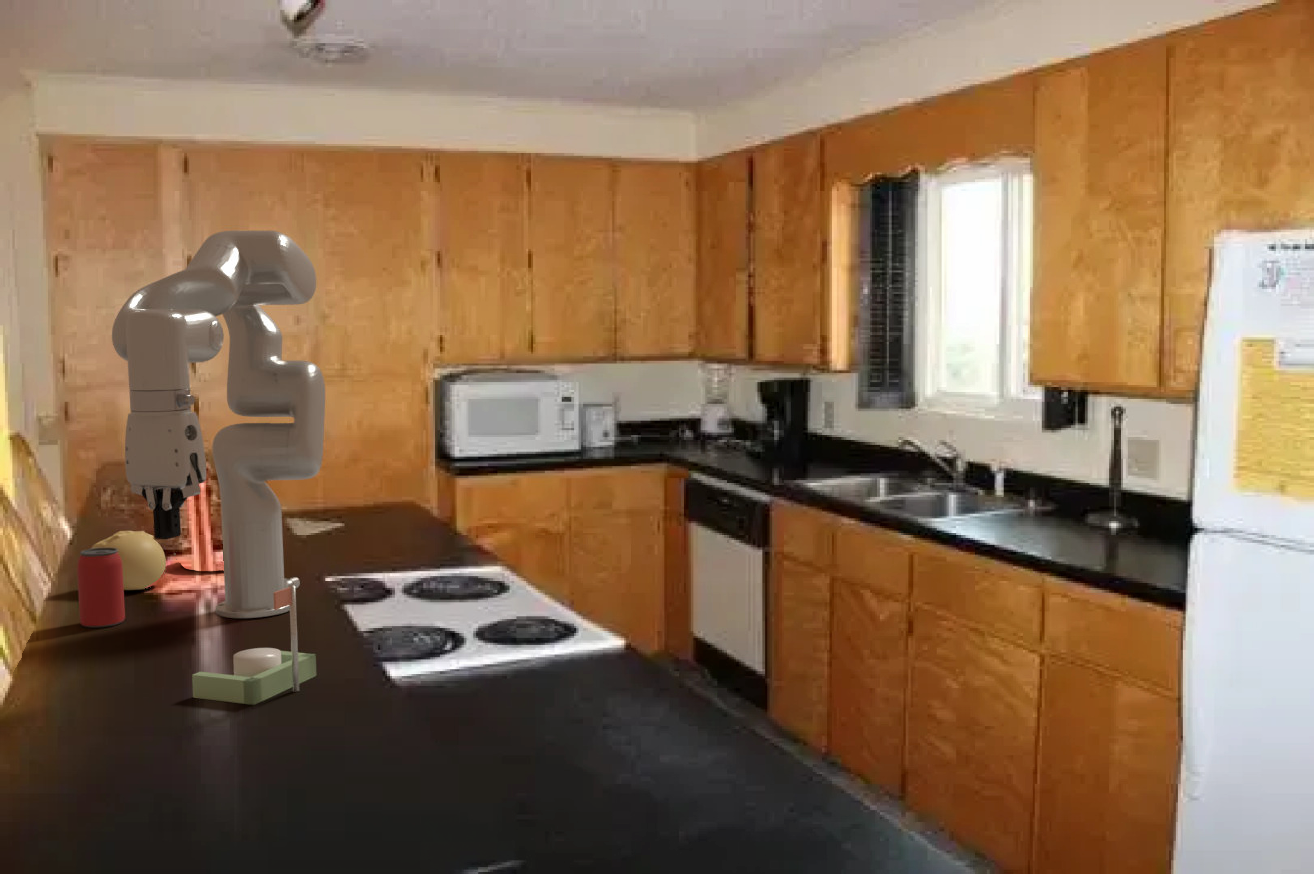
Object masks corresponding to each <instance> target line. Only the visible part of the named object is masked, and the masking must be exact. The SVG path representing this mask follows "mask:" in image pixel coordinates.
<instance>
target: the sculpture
mask: <svg viewBox="0 0 1314 874" xmlns="http://www.w3.org/2000/svg"><path fill="white" fill-rule="evenodd" d="M94 548H116V549H118V554H119V556H120V558H121V560H122V568H123V587H124V591H135V590H136V591H137V590H138V591H139V590H145V588H146V587H147V586H149V585H151V584H152V583H154V582H156V581H157V580H158V579H159V578H160V577H161V575H162V574H163V572H164V570H165V571H166V568H165V567H166V566H167V560H166V555H165V552H164V549H163V548H162V545H160V543H158V541H157V539H156V540H155V536H154V534H153V535H152V534H149V533H147V532H145V530H139V531H138V530H137V531H134V530H120V531H118V532H116V533H113V534H112V535H111V536H109V537H107V538H105V539H103V540H100V541H98V542H97V543H94V544H93V545H92V546H91V548H90V549H94ZM164 573H165V572H164ZM146 589H147V588H146Z"/></svg>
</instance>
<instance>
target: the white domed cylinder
mask: <svg viewBox="0 0 1314 874" xmlns="http://www.w3.org/2000/svg"><path fill="white" fill-rule="evenodd" d="M281 651H282V650H280V649H278V648H275V647H274V648H273V647H257V648H256V647H255V648H249V649H244V650H240V651H238V652H236V653H234V654H233V656H232V659H233V675H235V676H244V677H253V676H255V675H258V674H260V673H262V672H264V671H267V670H269V669H271V668H274V667H276V666H278V665H281Z"/></svg>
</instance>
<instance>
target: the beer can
mask: <svg viewBox="0 0 1314 874" xmlns="http://www.w3.org/2000/svg"><path fill="white" fill-rule="evenodd" d="M79 554H80V555H79V558H78V560H77V564H76V571H77V573H76V574H77V589H78V590H77V591H78V606H79V623H80V624H81V626H83V627H85V628H88V629H89V628H90V629H91V628H92V629H100V628H102V629H103V628H109V627H114V626H116V625H119V624H121V623H123V621H125V619H126V611H125V590H124V587H123V568H122V560H121V558H120V556H119V554H118V549H116V548H94V549H91V548H89V549H84V550H81V551H80V552H79Z"/></svg>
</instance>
